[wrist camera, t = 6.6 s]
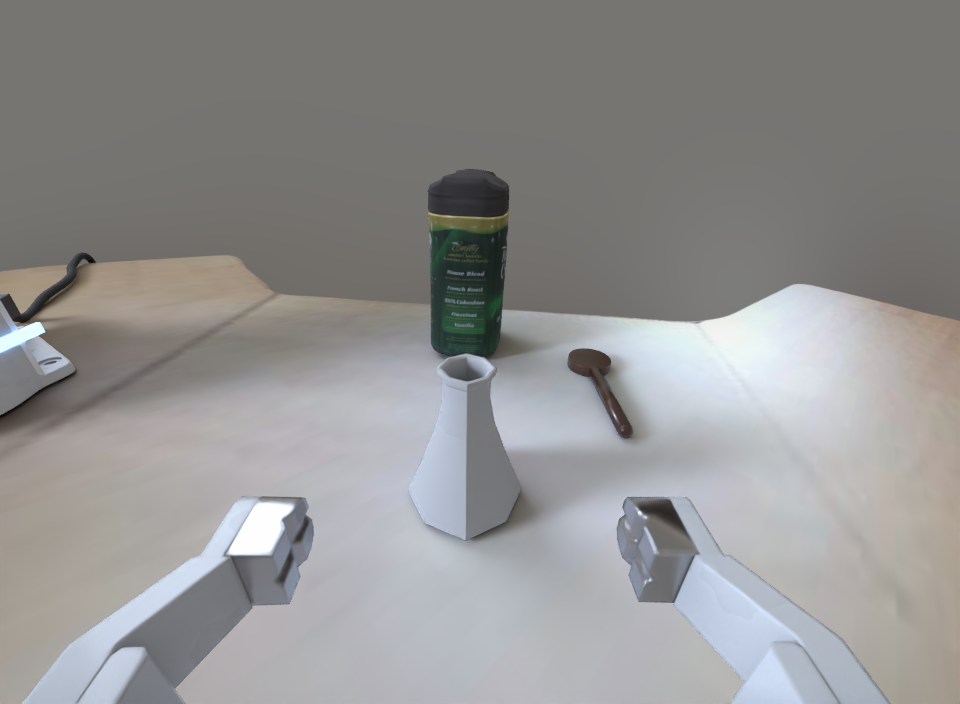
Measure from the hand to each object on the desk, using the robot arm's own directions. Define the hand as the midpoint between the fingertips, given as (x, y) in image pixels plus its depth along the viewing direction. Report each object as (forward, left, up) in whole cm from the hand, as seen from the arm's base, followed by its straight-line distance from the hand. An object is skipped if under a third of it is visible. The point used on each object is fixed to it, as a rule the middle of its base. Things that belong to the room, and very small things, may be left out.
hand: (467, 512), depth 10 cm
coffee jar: (-25, +25, -13) cm, 37 cm away
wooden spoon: (-9, +27, -13) cm, 31 cm away
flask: (-9, +9, -13) cm, 18 cm away
